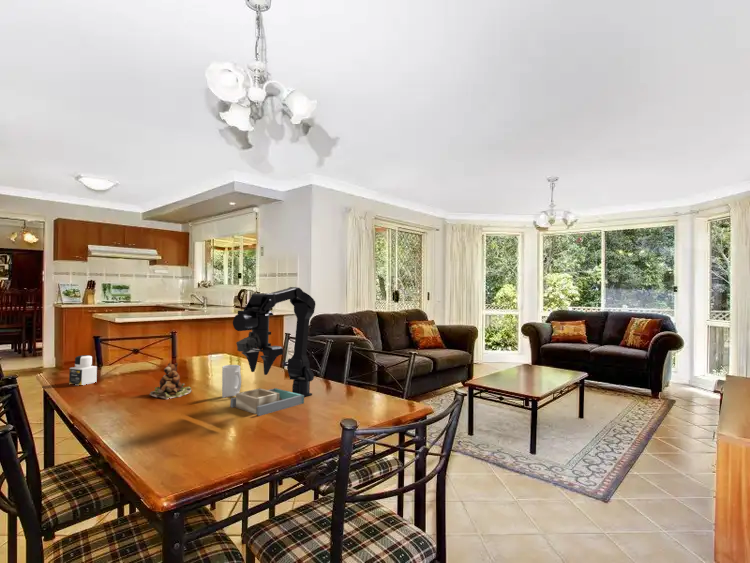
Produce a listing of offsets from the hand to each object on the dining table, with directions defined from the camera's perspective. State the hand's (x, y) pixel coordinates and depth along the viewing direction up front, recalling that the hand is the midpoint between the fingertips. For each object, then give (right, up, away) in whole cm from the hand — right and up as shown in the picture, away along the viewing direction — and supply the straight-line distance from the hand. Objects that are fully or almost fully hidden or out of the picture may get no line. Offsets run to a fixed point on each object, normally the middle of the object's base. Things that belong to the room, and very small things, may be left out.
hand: (259, 373), depth 146 cm
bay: (+2, -13, +3) cm, 14 cm away
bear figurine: (-41, -13, +19) cm, 47 cm away
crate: (0, -12, -1) cm, 12 cm away
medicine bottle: (-86, -12, +34) cm, 93 cm away
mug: (-15, -13, +16) cm, 25 cm away
